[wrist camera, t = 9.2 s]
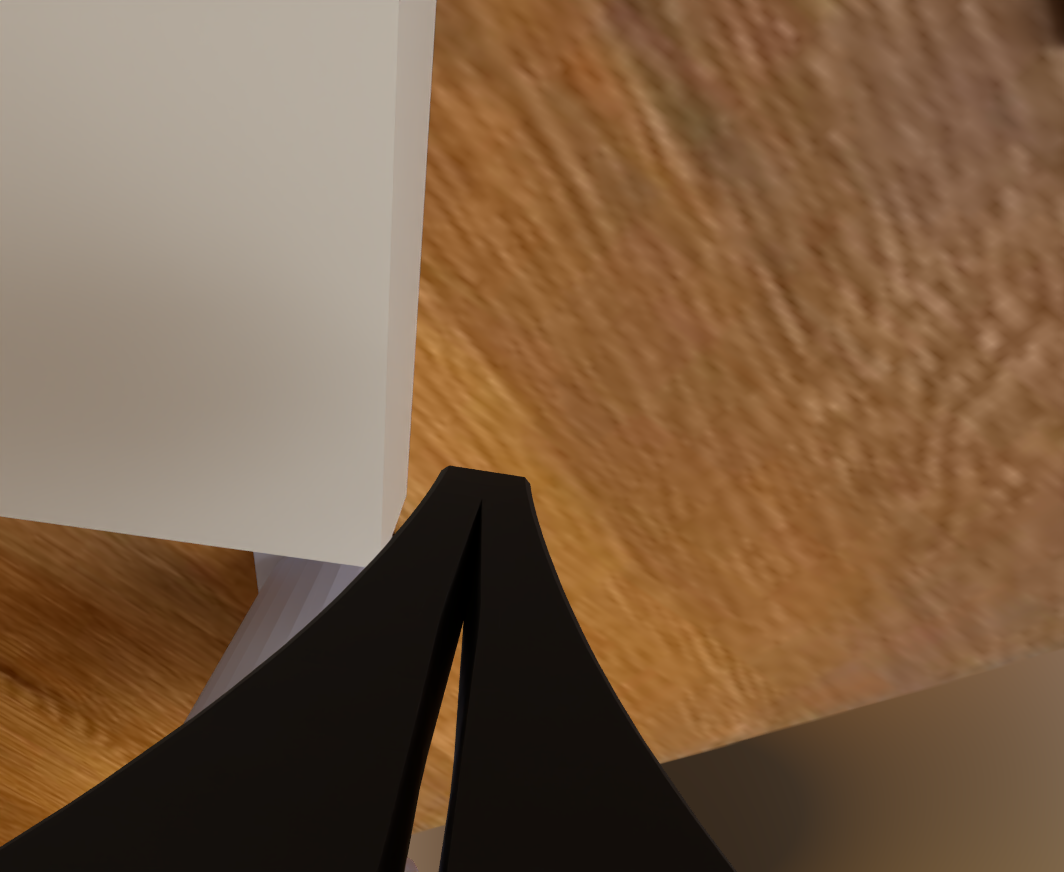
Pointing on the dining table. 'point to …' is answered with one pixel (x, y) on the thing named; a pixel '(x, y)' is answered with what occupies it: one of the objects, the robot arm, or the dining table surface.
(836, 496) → the dining table surface
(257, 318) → the deck
